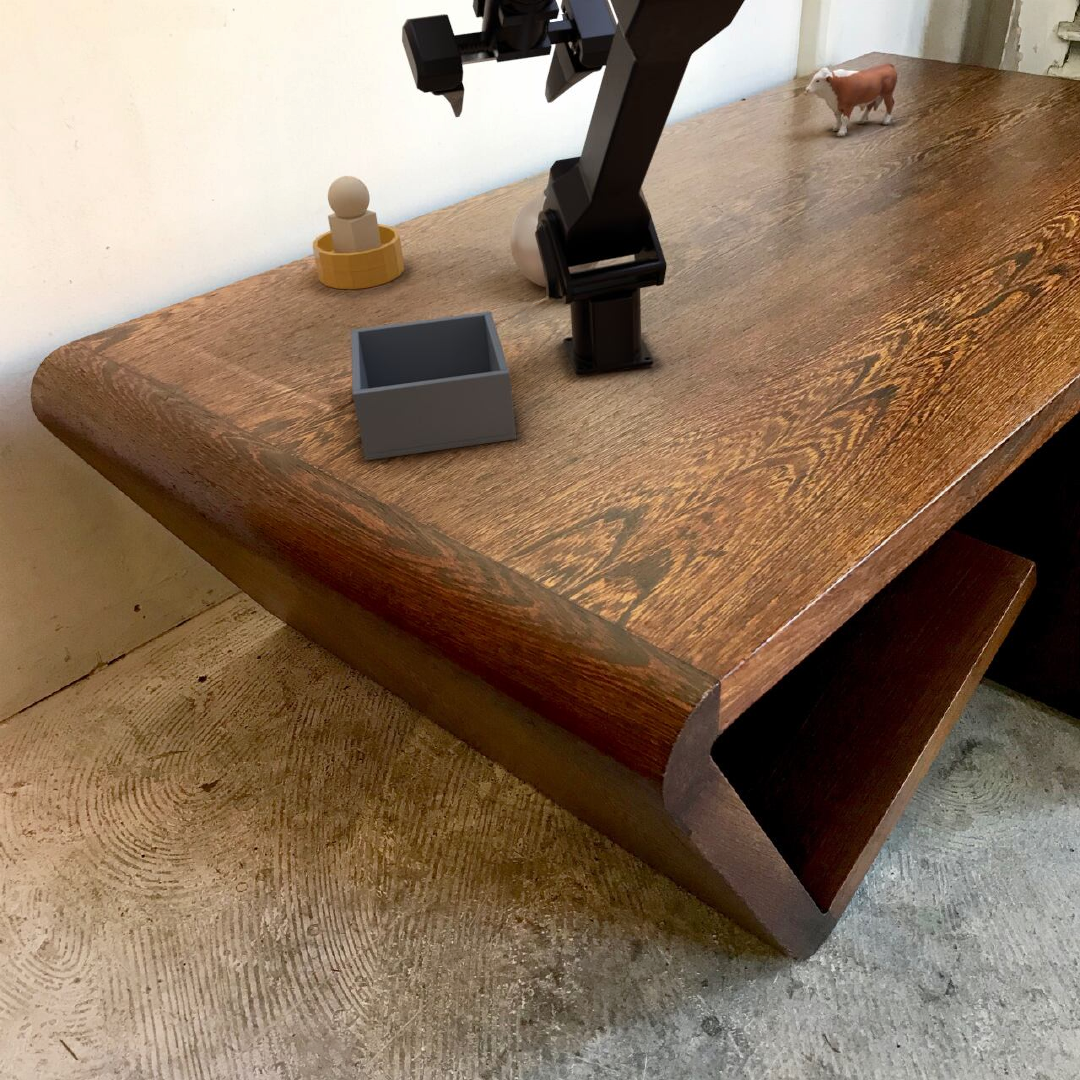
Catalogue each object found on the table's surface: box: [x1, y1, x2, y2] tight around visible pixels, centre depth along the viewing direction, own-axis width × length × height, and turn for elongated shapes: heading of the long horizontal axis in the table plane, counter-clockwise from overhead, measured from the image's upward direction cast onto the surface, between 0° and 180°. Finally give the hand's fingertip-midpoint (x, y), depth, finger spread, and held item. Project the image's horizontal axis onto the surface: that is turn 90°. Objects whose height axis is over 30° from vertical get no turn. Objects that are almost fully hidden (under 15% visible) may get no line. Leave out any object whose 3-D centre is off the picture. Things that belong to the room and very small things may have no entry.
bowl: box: [312, 223, 406, 290], centre depth 106 cm, size 9×9×4 cm
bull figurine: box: [805, 62, 898, 137], centre depth 134 cm, size 4×13×8 cm, turn 115°
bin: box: [350, 311, 517, 461], centre depth 81 cm, size 11×11×6 cm
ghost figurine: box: [509, 190, 599, 289], centre depth 98 cm, size 9×10×10 cm
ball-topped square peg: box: [327, 175, 381, 253], centre depth 104 cm, size 4×4×10 cm
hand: (502, 105), depth 100 cm, fingers open, 9 cm apart
